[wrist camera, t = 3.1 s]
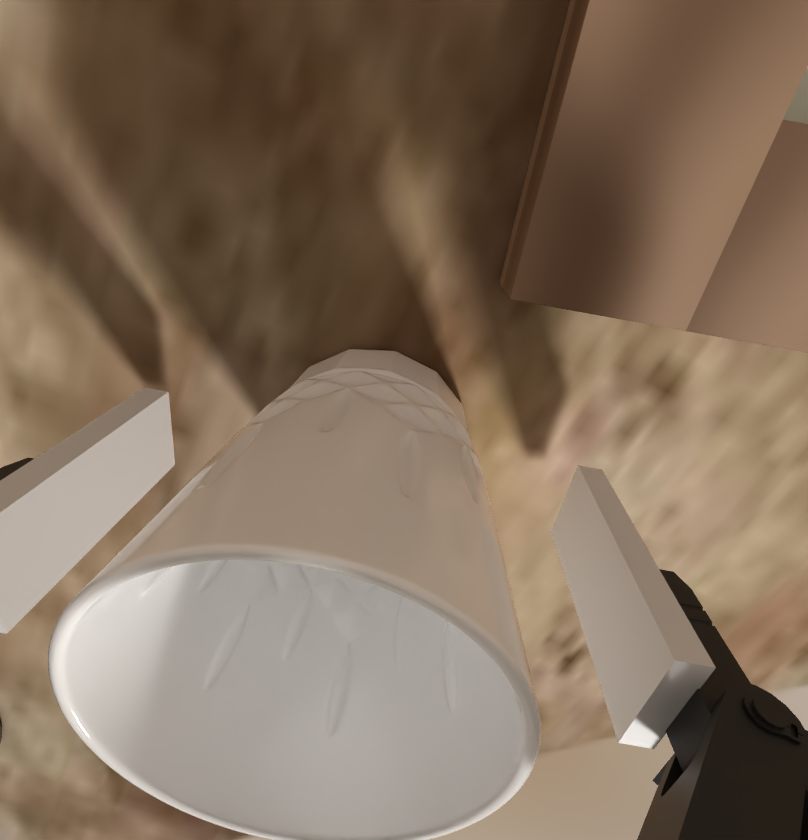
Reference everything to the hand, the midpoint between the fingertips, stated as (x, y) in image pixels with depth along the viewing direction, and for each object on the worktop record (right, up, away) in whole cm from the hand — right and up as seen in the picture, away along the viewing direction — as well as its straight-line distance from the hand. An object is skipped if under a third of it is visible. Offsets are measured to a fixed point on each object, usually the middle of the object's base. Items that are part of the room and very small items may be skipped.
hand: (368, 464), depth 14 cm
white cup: (0, +1, +2) cm, 2 cm away
